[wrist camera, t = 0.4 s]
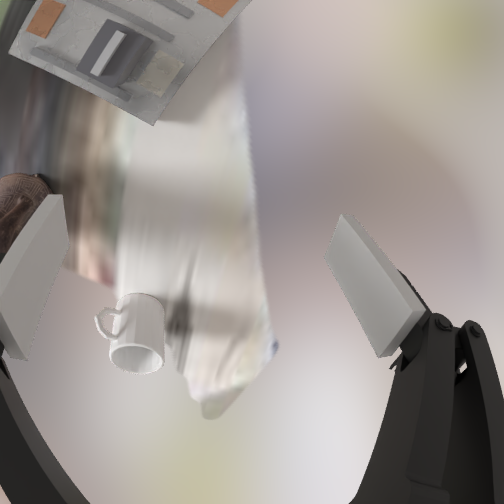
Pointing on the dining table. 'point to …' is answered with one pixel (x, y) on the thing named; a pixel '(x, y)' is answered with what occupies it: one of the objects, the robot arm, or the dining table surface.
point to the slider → (113, 54)
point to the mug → (135, 333)
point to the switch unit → (138, 19)
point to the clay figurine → (18, 204)
